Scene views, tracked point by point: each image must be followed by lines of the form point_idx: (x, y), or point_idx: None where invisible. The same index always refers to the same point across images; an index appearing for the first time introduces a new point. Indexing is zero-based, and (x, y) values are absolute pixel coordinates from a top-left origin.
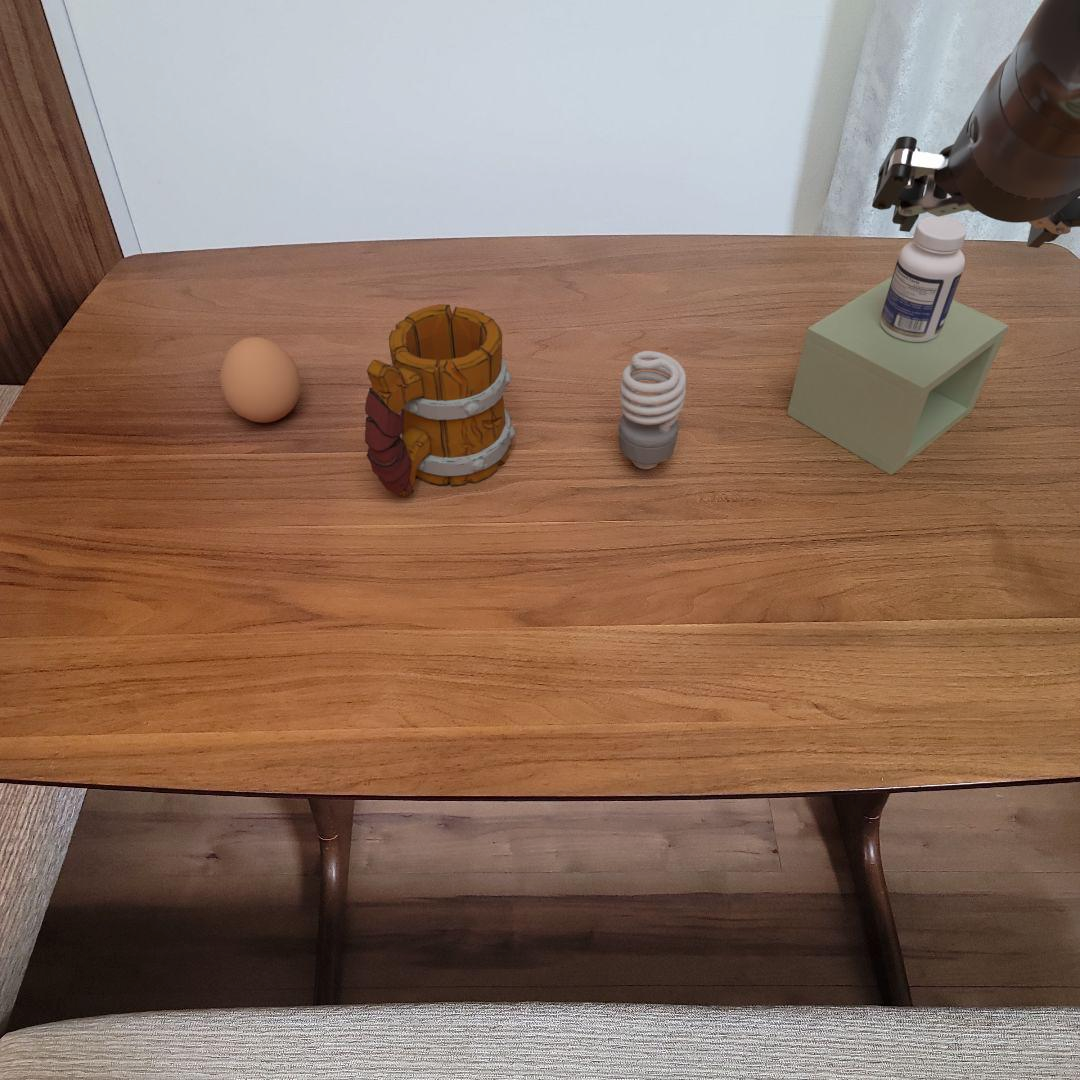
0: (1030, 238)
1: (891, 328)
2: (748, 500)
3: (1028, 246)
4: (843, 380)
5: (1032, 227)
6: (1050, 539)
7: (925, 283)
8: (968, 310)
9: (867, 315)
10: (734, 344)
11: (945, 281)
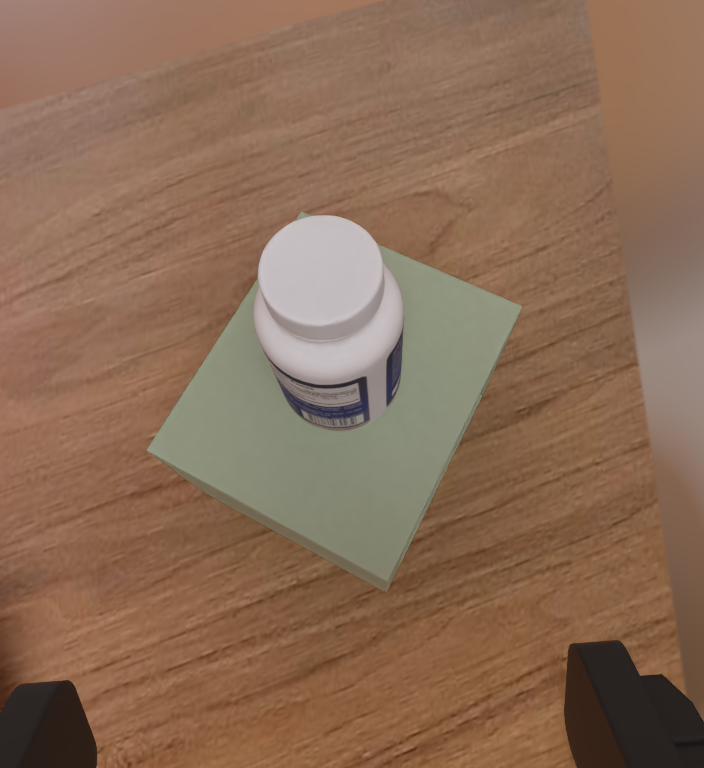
0: (577, 740)
1: (302, 418)
2: (163, 749)
3: (573, 750)
4: (251, 512)
5: (577, 696)
6: (648, 663)
7: (327, 388)
8: (444, 283)
9: (258, 366)
10: (104, 339)
11: (369, 374)
